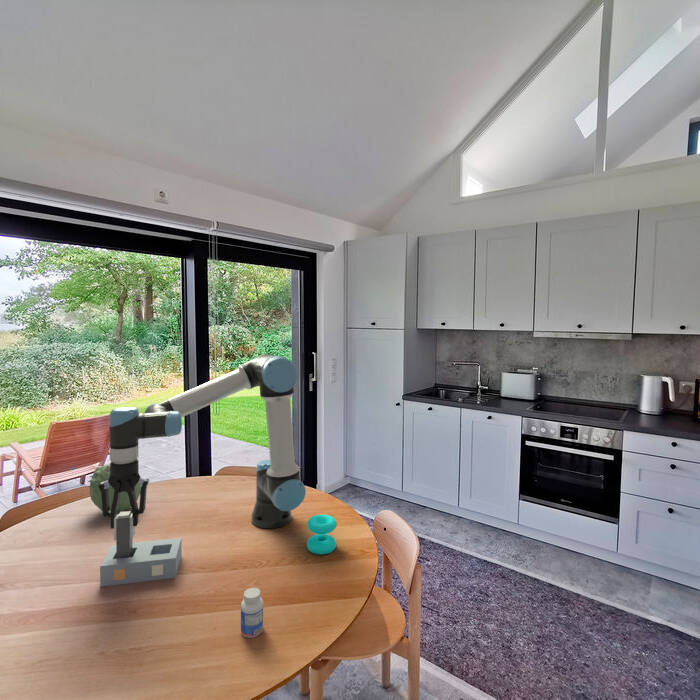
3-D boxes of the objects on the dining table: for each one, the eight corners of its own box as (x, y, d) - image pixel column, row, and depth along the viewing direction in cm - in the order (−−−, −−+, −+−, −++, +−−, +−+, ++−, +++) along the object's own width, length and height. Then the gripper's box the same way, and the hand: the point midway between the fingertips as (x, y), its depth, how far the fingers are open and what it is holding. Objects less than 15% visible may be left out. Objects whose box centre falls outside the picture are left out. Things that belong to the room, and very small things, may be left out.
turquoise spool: (301, 519, 142) (322, 510, 149) (300, 548, 142) (322, 537, 150) (321, 529, 135) (342, 519, 142) (320, 559, 136) (342, 548, 143)
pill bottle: (242, 623, 106) (242, 585, 105) (264, 622, 106) (264, 585, 106) (238, 639, 101) (239, 599, 100) (261, 638, 101) (262, 599, 100)
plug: (132, 554, 128) (132, 510, 127) (129, 561, 125) (129, 515, 124) (119, 556, 127) (119, 511, 127) (116, 562, 124) (116, 516, 123)
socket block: (181, 556, 136) (181, 538, 136) (175, 578, 124) (175, 558, 124) (112, 563, 131) (112, 544, 131) (100, 587, 119) (99, 566, 119)
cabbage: (150, 509, 169) (150, 460, 168) (99, 526, 154) (98, 473, 153) (132, 499, 179) (132, 452, 178) (82, 514, 164) (82, 463, 163)
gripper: (157, 454, 130) (157, 528, 131) (97, 457, 126) (97, 533, 127) (152, 462, 123) (152, 540, 124) (88, 465, 119) (89, 546, 120)
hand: (124, 536), depth 126 cm, fingers closed on plug, 3 cm apart
